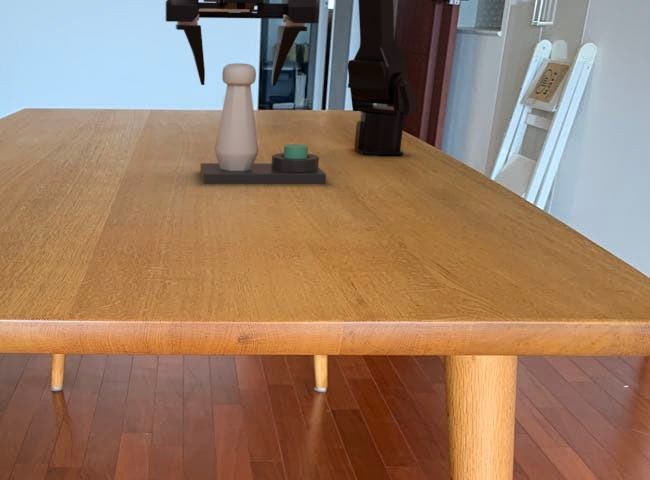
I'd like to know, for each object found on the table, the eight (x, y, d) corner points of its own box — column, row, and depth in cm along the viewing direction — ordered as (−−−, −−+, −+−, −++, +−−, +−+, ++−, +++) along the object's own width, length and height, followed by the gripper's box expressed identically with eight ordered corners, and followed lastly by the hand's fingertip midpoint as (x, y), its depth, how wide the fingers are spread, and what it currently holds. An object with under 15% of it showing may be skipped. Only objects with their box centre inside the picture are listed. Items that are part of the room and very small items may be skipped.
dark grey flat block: (313, 173, 113) (315, 151, 112) (325, 184, 106) (327, 161, 105) (200, 173, 113) (200, 151, 111) (204, 184, 106) (204, 161, 104)
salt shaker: (259, 172, 106) (264, 65, 101) (215, 172, 106) (218, 64, 100) (254, 164, 111) (259, 62, 106) (213, 164, 111) (215, 62, 106)
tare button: (304, 157, 110) (305, 143, 109) (309, 161, 107) (310, 147, 106) (281, 157, 110) (282, 143, 109) (285, 161, 107) (286, 147, 106)
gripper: (307, -48, 105) (299, 81, 112) (164, -51, 104) (164, 79, 111) (324, -55, 95) (314, 87, 102) (166, -57, 94) (166, 86, 101)
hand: (238, 85), depth 104 cm, fingers open, 9 cm apart
